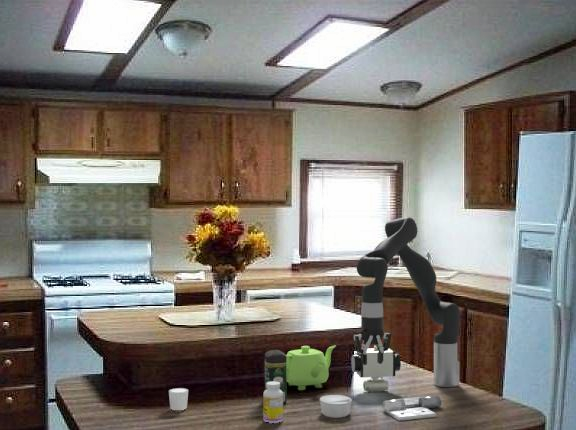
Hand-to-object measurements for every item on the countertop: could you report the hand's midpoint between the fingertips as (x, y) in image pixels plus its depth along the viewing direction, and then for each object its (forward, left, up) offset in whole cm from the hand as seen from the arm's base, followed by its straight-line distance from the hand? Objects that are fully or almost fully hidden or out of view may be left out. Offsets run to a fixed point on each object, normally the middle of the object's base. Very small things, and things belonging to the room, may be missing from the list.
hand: (372, 363), depth 245 cm
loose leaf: (-12, +4, -17) cm, 21 cm away
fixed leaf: (-19, -4, -17) cm, 26 cm away
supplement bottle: (+35, -3, -18) cm, 39 cm away
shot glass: (+63, -26, -18) cm, 70 cm away
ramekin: (+12, -4, -18) cm, 22 cm away
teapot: (+7, -41, -18) cm, 45 cm away
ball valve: (-14, -27, -18) cm, 35 cm away
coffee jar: (+27, -26, -18) cm, 41 cm away
